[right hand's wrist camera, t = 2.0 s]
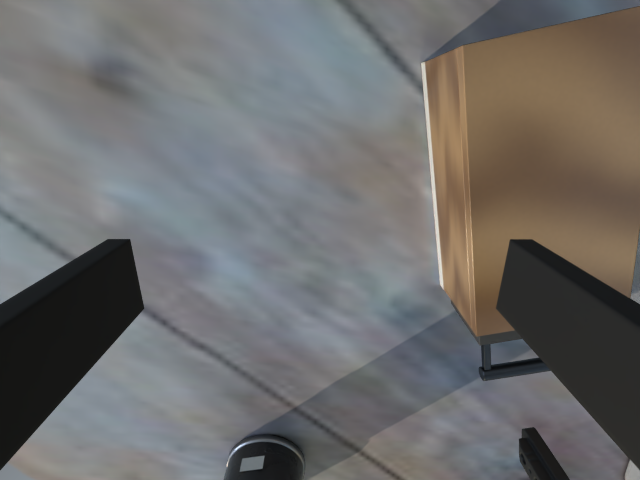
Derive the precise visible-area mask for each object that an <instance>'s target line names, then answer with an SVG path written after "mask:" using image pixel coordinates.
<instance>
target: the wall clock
mask: <svg viewBox="0 0 640 480" xmlns="http://www.w3.org/2000/svg"><path fill="white" fill-rule="evenodd" d="M625 480H640V470H639V469H638V468H637V467H636V466H635V464H634V463H633V462H632V461H631V460H630V462H629V464H628V467H627V470H626V473H625Z"/></svg>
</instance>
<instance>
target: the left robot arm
mask: <svg viewBox="0 0 640 480" xmlns="http://www.w3.org/2000/svg"><path fill="white" fill-rule="evenodd" d="M519 457H520V462H521V464H522V466H523V467H524V469H525V471H526V473H527V474H528V476H529V478H530V480H570V479H569V478H568V476H567V475H566V473H565V472H564V470H563V469H562V467H561V466H560V464H559V463H558V461H557V460H556V458H555V457H554V455H553V454H552V452H551V451H550V449H549V448H548V446H547V445H546V443H545V442H544V441H543V439H542V438H541V436H540V435H539V433H538V432H537V430H536V429H535V428H534V427H532V428H525V429H522V438H521V439H519ZM304 472H305V459H304V456H303V454H302V452H301V451H300V449H299V448H298V447H297V446H296V445H294V444H293V443H292V442H290V441H288V440H286V439H284V438H281V437H277V436H272V435H257V436H252V437H249V438H246V439H244V440H242V441H240V442H239V443H237V444H236V445H235V446H234V447H233V449H232V450H231V452H230V454H229V458H228V461H227V469H226V473H225V477H224V480H303V478H304Z"/></svg>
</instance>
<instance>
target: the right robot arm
mask: <svg viewBox="0 0 640 480" xmlns="http://www.w3.org/2000/svg"><path fill="white" fill-rule="evenodd" d="M143 309H144V305H143V300H142V295H141V290H140V285H139V281H138V276H137V271H136V266H135V261H134V256H133V251H132V246H131V241H130V239H107V240H106V241H104V242H102V243H101V244H99V245H97V246H96V247H94V248H93V249H91V250H89V251H88V252H86V253H84V254H83V255H81V256H79V257H78V258H76V259H74V260H73V261H71V262H69V263H68V264H66V265H64V266H63V267H61V268H60V269H58V270H56V271H55V272H53V273H51V274H50V275H48V276H46V277H45V278H43V279H41V280H40V281H38V282H36V283H35V284H33V285H31V286H30V287H28V288H26V289H25V290H23V291H22V292H20V293H18V294H17V295H15V296H13V297H12V298H10V299H8V300H7V301H5V302H3V303H2V304H0V470H1V469H2V468H3V467H4V466H5V464H6V463H7V462H8V461H9V460H10V459H11V458H12V457H13V455H14V454H15V453H16V452H17V451H18V450H19V449H20V448H21V446H22V445H23V444H24V443H25V442H26V441H27V440H28V439H29V437H30V436H31V435H32V434H33V433H34V432H35V431H36V430H37V428H38V427H39V426H40V425H41V424H42V423H43V422H44V421H45V419H46V418H47V417H48V416H49V415H50V414H51V413H52V412H53V410H54V409H55V408H56V407H57V406H58V405H59V404H60V403H61V401H62V400H63V399H64V398H65V397H66V396H67V395H68V394H69V392H70V391H71V390H72V389H73V388H74V387H75V386H76V385H77V383H78V382H79V381H80V380H81V379H82V378H83V377H84V376H85V374H86V373H87V372H88V371H89V370H90V369H91V368H92V367H93V365H94V364H95V363H96V362H97V361H98V360H99V359H100V358H101V356H102V355H103V354H104V353H105V352H106V351H107V350H108V349H109V347H110V346H111V345H112V344H113V343H114V342H115V341H116V340H117V338H118V337H119V336H120V335H121V334H122V333H123V332H124V331H125V330H126V328H127V327H128V326H129V325H130V324H131V323H132V322H133V321H134V319H135V318H136V317H137V316H138V315H139V314H140V313H141V312H142V310H143ZM496 309H497V310H498V312H499V313H500V314H501V315H502V316H503V317H504V318H505V319H506V321H507V322H508V323H509V324H510V325H511V326H512V327H513V328H514V330H515V331H516V332H517V333H518V334H519V335H520V336H521V337H522V338H523V340H524V341H525V342H526V343H527V344H528V345H529V346H530V347H531V349H532V350H533V351H534V352H535V353H536V354H537V355H538V356H539V358H540V359H541V360H542V361H543V362H544V363H545V364H546V365H547V367H548V368H549V369H550V370H551V371H552V372H553V373H554V374H555V376H556V377H557V378H558V379H559V380H560V381H561V382H562V383H563V385H564V386H565V387H566V388H567V389H568V390H569V391H570V392H571V394H572V395H573V396H574V397H575V398H576V399H577V400H578V401H579V403H580V404H581V405H582V406H583V407H584V408H585V409H586V410H587V412H588V413H589V414H590V415H591V416H592V417H593V418H594V419H595V421H596V422H597V423H598V424H599V425H600V426H601V427H602V428H603V430H604V431H605V432H606V433H607V434H608V435H609V436H610V437H611V439H612V440H613V441H614V442H615V443H616V444H617V445H618V446H619V448H620V449H621V450H622V451H623V452H624V453H625V454H626V455H627V457H628V458H629V459H630V460H631V461H632V462H633V463H634V464H635V466H636V467H637V468H638V469H639V470H640V304H638V303H637V302H635V301H633V300H632V299H630V298H628V297H627V296H625V295H623V294H622V293H620V292H618V291H617V290H615V289H614V288H612V287H610V286H609V285H607V284H605V283H604V282H602V281H600V280H599V279H597V278H595V277H594V276H592V275H590V274H589V273H587V272H585V271H584V270H582V269H580V268H579V267H577V266H576V265H574V264H572V263H571V262H569V261H567V260H566V259H564V258H562V257H561V256H559V255H557V254H556V253H554V252H552V251H551V250H549V249H547V248H546V247H544V246H542V245H541V244H539V243H538V242H536V241H534V240H533V239H510V241H509V246H508V251H507V256H506V261H505V266H504V271H503V276H502V281H501V285H500V290H499V295H498V300H497V305H496Z"/></svg>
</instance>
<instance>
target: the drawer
mask: <svg viewBox="0 0 640 480" xmlns="http://www.w3.org/2000/svg"><path fill="white" fill-rule="evenodd" d="M451 304H452V305H453V307H454V308H455V310H456V311H457V313H458V314H459V316H460V317H461V318H462V320H463V321H464V323H465V324H466V326H467V327H468V329H469V330H470V332H471V333H472V335H473V336H474V338H475V339H476V341H477V342H478V344H479V345H481V351H482V367H479V374H480V377H481V379H482V380H483V381H488V380H494V379H500V378H507V377H513V376H520V375H526V374H533V373H539V372H546V371H551V370H550V369H549V368H548V367H547V365H546V364H545V363H544V362H543V361H542V360H541V359H540V358H533V359H527V360H521V361H514V362H508V363H502V364H495V365H491V351H490V344H493V343H499V342H505V341H511V340H517V339H523V338H522V337H521V336H520V335H519V334H518V333H517V332H516V331H515V330H514V331H507V332H501V333H495V334H489V335H483V336H476V335H475V334H474V332H473V331H472V329H471V328H470V326H469V325H468V324H467V322H466V321H465V319H464V318H463V316H462V315H461V313H460V312H459V310H458V309H457V307H456V306H455V305H454V303H453V302H452V300H451Z"/></svg>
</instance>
